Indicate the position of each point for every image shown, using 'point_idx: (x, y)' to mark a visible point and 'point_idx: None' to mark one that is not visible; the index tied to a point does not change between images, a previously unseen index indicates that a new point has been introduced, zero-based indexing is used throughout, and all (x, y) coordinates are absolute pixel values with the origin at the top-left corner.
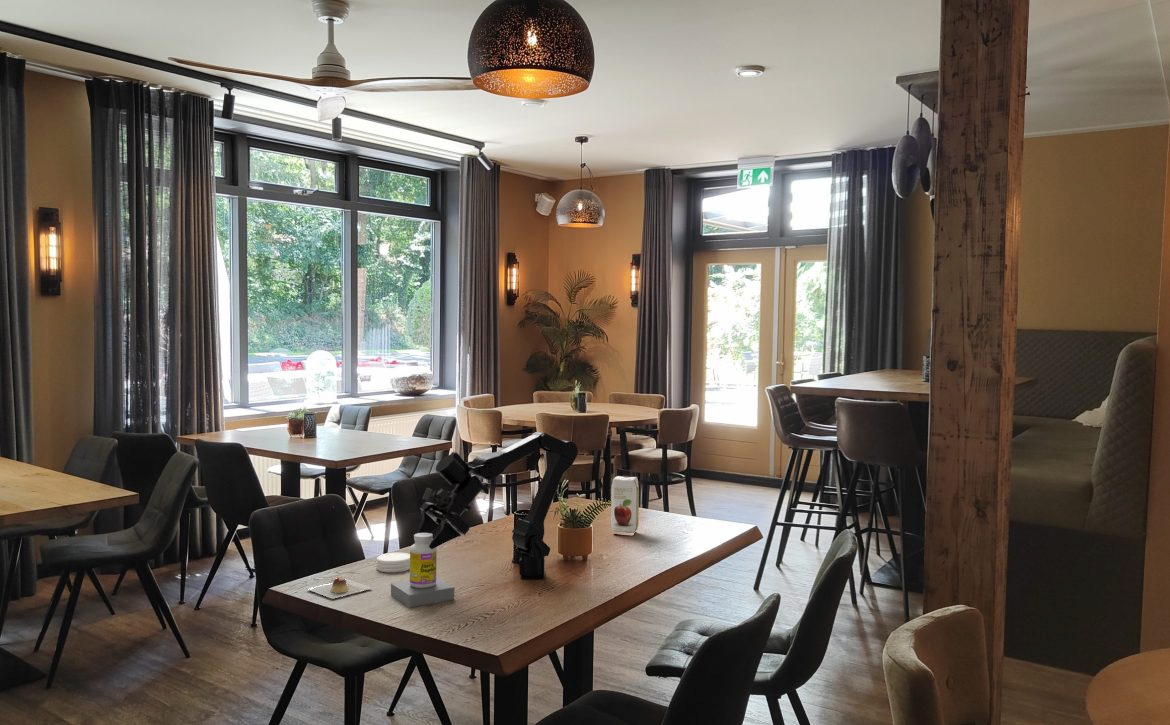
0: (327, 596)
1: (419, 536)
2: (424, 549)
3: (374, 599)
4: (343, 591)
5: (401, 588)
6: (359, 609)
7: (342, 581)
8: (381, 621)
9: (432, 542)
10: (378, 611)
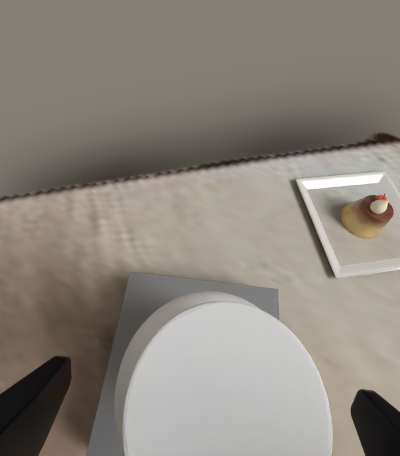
0: (313, 177)
1: (184, 325)
2: (131, 346)
3: (253, 247)
4: (343, 218)
5: (206, 286)
6: (204, 193)
7: (364, 207)
8: (100, 190)
9: (14, 384)
10: (164, 214)
